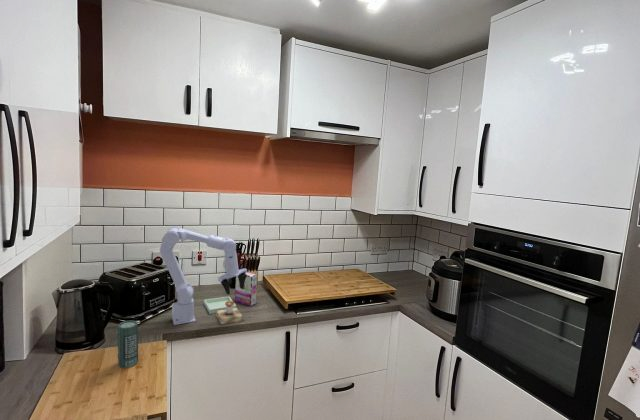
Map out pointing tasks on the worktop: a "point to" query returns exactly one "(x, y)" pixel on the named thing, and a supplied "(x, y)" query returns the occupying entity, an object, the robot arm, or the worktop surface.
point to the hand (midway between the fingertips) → (235, 291)
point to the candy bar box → (247, 290)
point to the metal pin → (229, 307)
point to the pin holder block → (229, 316)
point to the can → (127, 344)
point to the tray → (217, 304)
